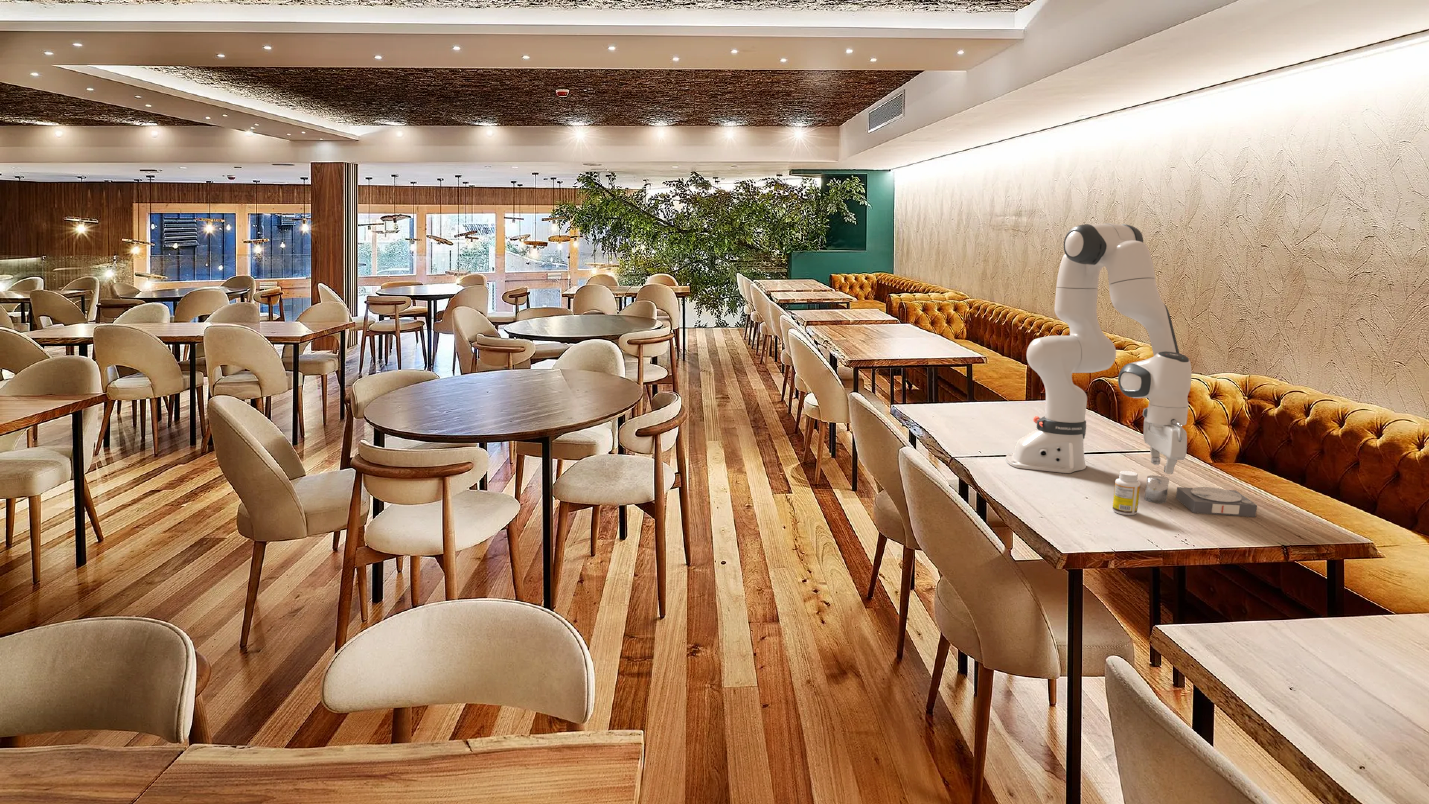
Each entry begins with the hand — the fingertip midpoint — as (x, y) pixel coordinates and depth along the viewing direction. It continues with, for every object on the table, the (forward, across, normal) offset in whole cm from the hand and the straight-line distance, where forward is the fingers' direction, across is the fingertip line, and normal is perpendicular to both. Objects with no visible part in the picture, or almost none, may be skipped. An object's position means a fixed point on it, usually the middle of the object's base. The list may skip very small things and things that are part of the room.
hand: (1161, 468), depth 209 cm
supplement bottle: (+9, -11, +11) cm, 18 cm away
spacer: (+9, +1, 0) cm, 9 cm away
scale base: (+9, -2, -13) cm, 16 cm away
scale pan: (+6, -2, -13) cm, 14 cm away
